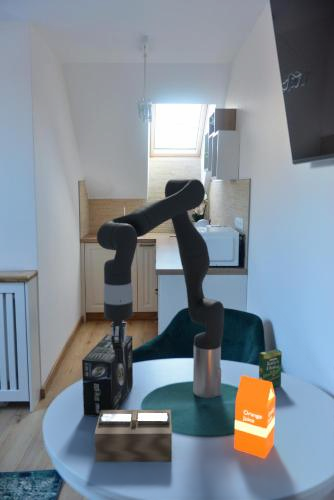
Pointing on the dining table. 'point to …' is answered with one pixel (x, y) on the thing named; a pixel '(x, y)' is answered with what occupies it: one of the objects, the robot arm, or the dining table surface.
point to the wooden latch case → (133, 439)
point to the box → (106, 377)
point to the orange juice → (254, 416)
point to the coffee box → (270, 367)
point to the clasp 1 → (115, 419)
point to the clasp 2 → (153, 418)
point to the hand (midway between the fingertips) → (119, 362)
